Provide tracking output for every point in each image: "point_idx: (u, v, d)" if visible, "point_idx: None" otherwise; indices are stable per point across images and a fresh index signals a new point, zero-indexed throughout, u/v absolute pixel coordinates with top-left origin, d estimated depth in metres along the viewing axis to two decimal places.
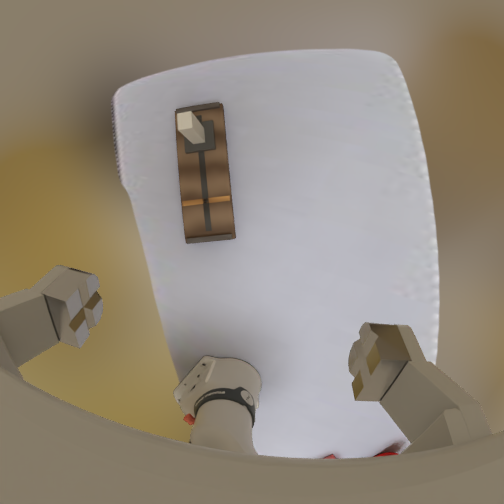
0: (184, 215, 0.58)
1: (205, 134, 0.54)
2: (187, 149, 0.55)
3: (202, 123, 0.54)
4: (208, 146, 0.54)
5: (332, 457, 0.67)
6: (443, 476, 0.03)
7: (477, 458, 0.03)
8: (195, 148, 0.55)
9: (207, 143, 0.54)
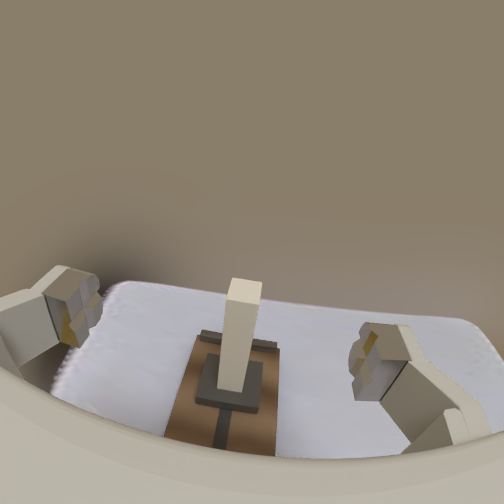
0: None
1: (245, 380, 0.27)
2: (202, 392, 0.25)
3: None
4: (246, 401, 0.25)
5: None
6: (443, 476, 0.03)
7: (477, 458, 0.03)
8: (219, 396, 0.25)
9: (245, 395, 0.26)
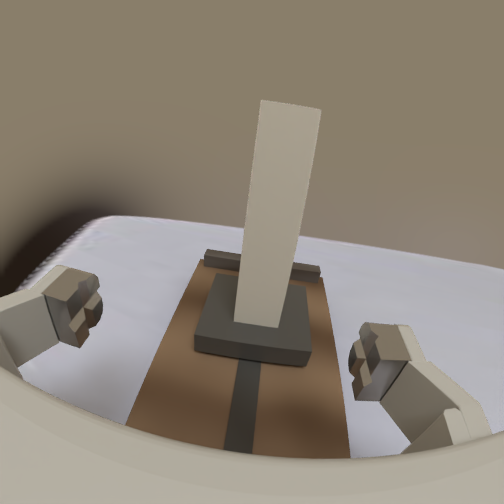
0: None
1: (281, 309, 0.17)
2: (207, 328, 0.15)
3: None
4: (288, 341, 0.15)
5: None
6: (443, 476, 0.03)
7: (477, 458, 0.03)
8: (238, 334, 0.15)
9: (285, 332, 0.15)
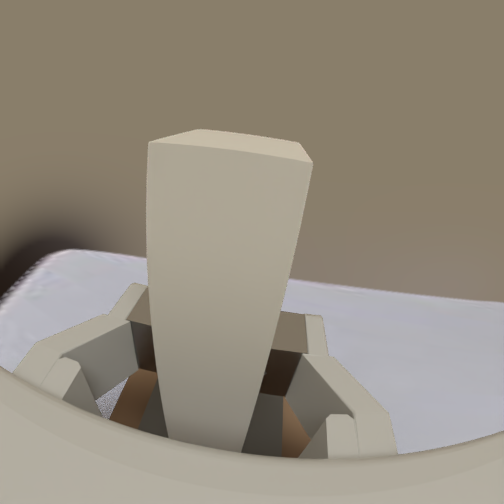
0: None
1: None
2: None
3: None
4: None
5: None
6: (443, 476, 0.03)
7: (477, 458, 0.03)
8: None
9: None
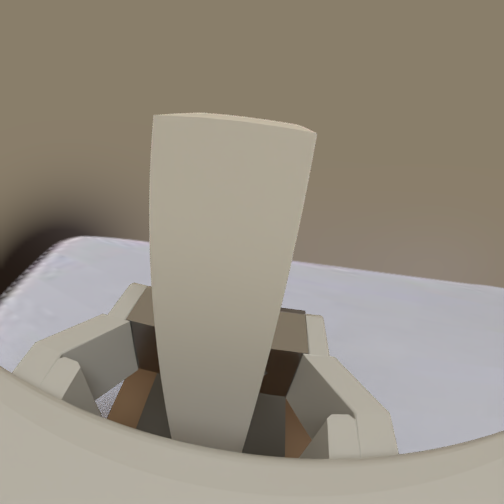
0: None
1: None
2: None
3: None
4: None
5: None
6: (443, 476, 0.03)
7: (477, 458, 0.03)
8: None
9: None
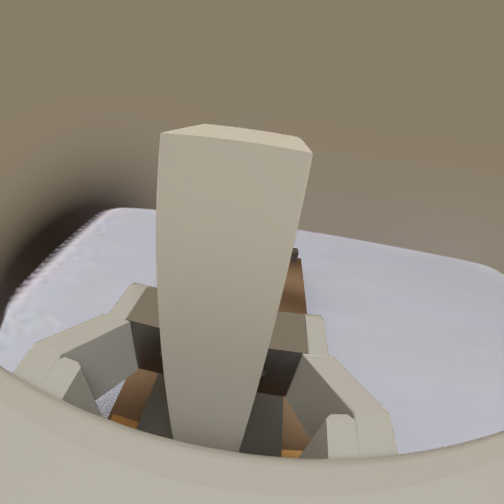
0: None
1: (244, 429, 0.11)
2: None
3: None
4: None
5: None
6: (443, 476, 0.03)
7: (477, 458, 0.03)
8: None
9: None
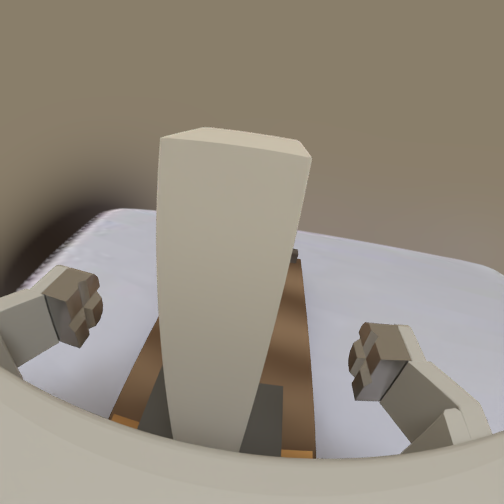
0: None
1: None
2: None
3: None
4: None
5: None
6: (443, 476, 0.03)
7: (477, 458, 0.03)
8: None
9: None
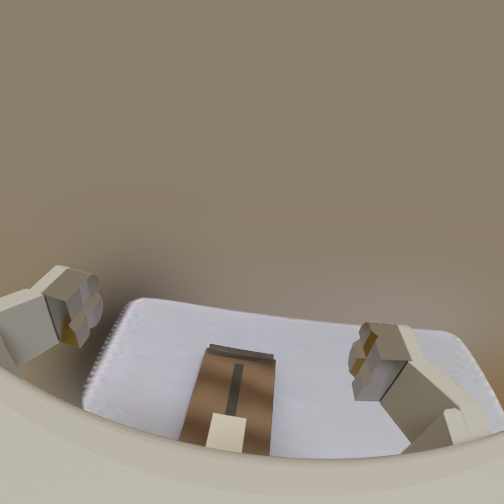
0: None
1: None
2: None
3: None
4: None
5: None
6: (443, 476, 0.03)
7: (477, 458, 0.03)
8: None
9: None
